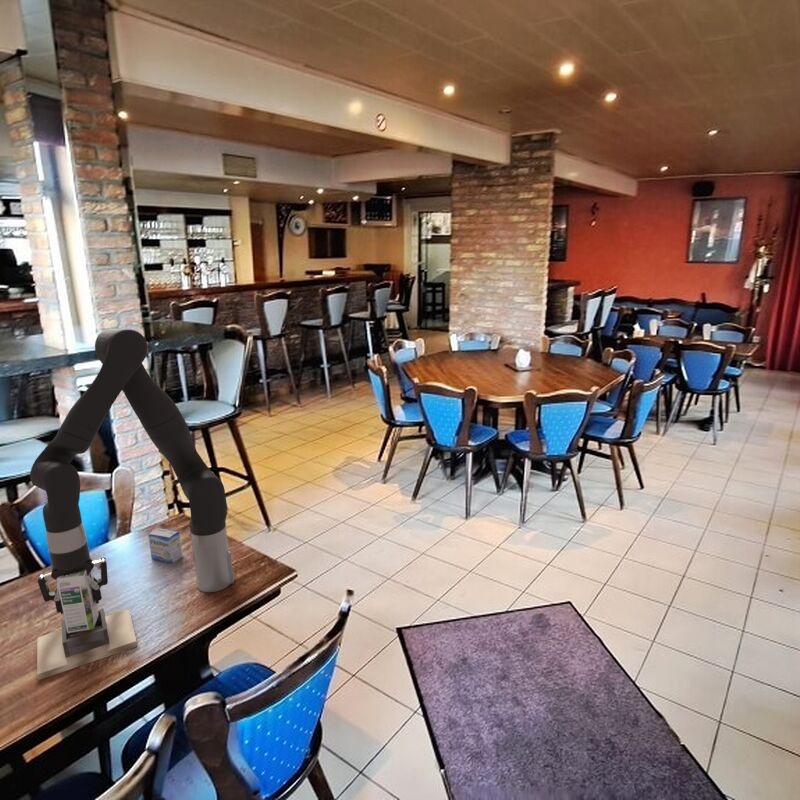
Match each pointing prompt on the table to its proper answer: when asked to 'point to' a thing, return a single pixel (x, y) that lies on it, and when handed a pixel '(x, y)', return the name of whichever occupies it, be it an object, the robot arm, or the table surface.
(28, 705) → the table surface
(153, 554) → the medicine box
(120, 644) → the socket stand
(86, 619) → the syrup box
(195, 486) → the robot arm
